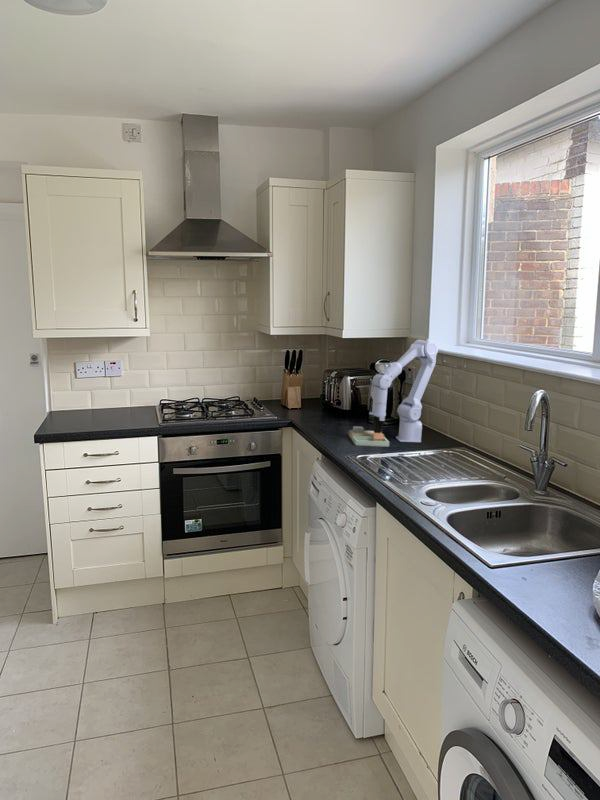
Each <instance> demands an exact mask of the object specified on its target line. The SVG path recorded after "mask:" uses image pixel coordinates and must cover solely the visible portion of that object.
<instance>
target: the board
mask: <svg viewBox="0 0 600 800" xmlns="http://www.w3.org/2000/svg"><path fill="white" fill-rule="evenodd" d="M373 433H374V430H364V433H354V432H353V429H349V430H348V437H349V438H350V439H351V441H352V436H372V435H373ZM380 433H382V431H381V432H380ZM382 434H383V437H385V434H384V433H382Z"/></svg>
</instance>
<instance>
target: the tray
mask: <svg viewBox="0 0 600 800" xmlns="http://www.w3.org/2000/svg"><path fill="white" fill-rule="evenodd" d="M383 438H384V440H383V441H373V438H372V436H352V440H351V441H352V443H353V444H354V445H355V446H356V447H357V446H359V447H361V446H363V447H364V446H365V447H390V441H389V440H388V439H387V438H386V436H384V437H383Z"/></svg>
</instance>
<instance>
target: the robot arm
mask: <svg viewBox="0 0 600 800" xmlns="http://www.w3.org/2000/svg"><path fill="white" fill-rule="evenodd" d="M438 352H439V348H438V345H437V343H436V342H434V341H431V340H430V341H429V340H423V339H417V340H415V341H414V342H413V343H411V345H410V347H409V348H408V350H406V352H405V353H404V354H402V356H401V357H400V358H399V359H398V360H397V361H392V362H389V363H388V364H387V365H388V366H386V367H385V368H384V369H383V370H381V371H380V373H376V374H375V375H374V376H373V378H372V380H371V385H372V386H373V396H372V397H373V398H372V408H371V409H372V410H371V411H369V413H368V414H369V415H372V416H371V417H370V419H371V422H372V427H373V431H374V433H380V432H382V429H383V426H384V424H385V422H386V416H387V412H386V411H387V402H388V401H387V400H388V390H389V389H388V388H390V387H391V385H392V382H393V381H394V380H395V379H396V378H397V377H398V376H399V375H400V374H402V371H403V368H404V367H406V365H408V364H409V363H410V362H411V361H412V360H414V359H415V358H418V359H419V360H420V363H421V364H420V367H419V369H418V371H417V374H416V377H415V379H414V381H413V385H412V386H411V389H410V391H409V393H408V396H407V397H405V398H404V399H403V400H402V402H401V403H400V404H399V405H398V407H397V415H398V417H399V429H398V435H397V436H395V439H396V440H398V441H399V442H401V443H403V442H405V443H422V432H423V424H422V421H421V420H419V419H420V418H421V415H422V409H423V405H422V402H421V400H422V398H423V395H424V393H425V390H426V389H427V386H428V384H429V381H430V379H431V375H432V373H433V372H434V368H435V366H436V362H437V355H438Z"/></svg>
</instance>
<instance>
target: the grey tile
mask: <svg viewBox="0 0 600 800" xmlns="http://www.w3.org/2000/svg"><path fill="white" fill-rule="evenodd" d="M352 430H353V432H354V433H364V431H365V428H364V427H363V426H358V425H356V426H352Z"/></svg>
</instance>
